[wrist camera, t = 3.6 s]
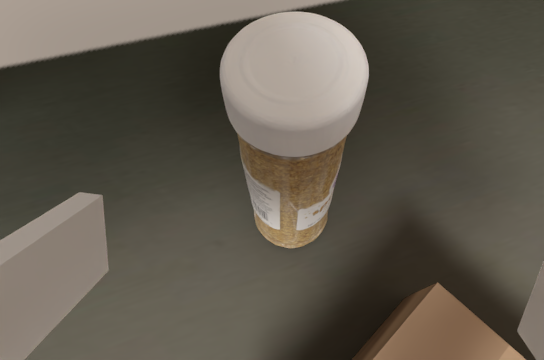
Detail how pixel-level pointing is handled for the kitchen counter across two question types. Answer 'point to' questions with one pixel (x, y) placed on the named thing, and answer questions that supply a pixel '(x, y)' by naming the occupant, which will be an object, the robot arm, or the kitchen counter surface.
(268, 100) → the sprinkles bottle
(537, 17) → the kitchen counter surface
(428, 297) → the brown wooden square frame
